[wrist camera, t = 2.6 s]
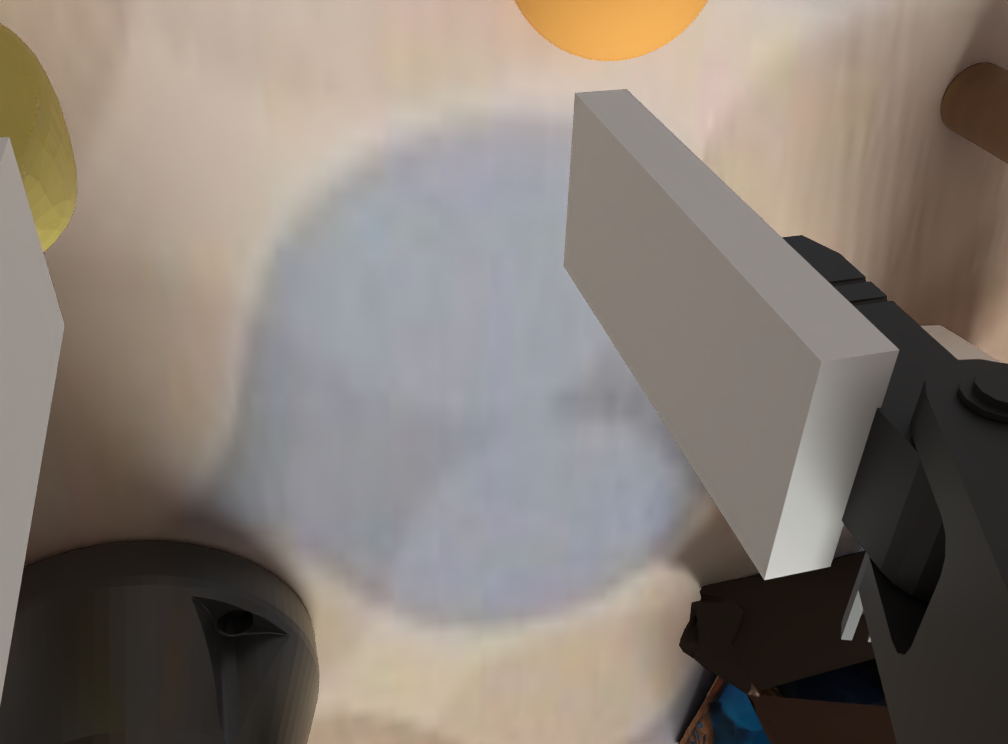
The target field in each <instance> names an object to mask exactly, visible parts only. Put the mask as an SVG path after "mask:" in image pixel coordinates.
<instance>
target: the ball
mask: <svg viewBox="0 0 1008 744" xmlns="http://www.w3.org/2000/svg"><path fill="white" fill-rule="evenodd" d="M707 1H708V0H515V3H516V4H517V6H518V8H519V9H520V11H521V12H522V14H523V15H524V17H525V18H526V20H527V21H528V22H529V23H530V25H531V26H532V27H533V28H534V29H535V30H536V31H537V32H538V33H539V34H540V35H541V36H543V37H544V38H545V39H546V40H548V41H549V42H550V43H552V44H553V45H555V46H556V47H558V48H560V49H562V50H564V51H566V52H568V53H570V54H573V55H576V56H580V57H583V58H586V59H591V60H598V61H619V60H626V59H632V58H635V57H639V56H642V55H645V54H647V53H650V52H652V51H654V50H656V49H658V48H660V47H662V46H663V45H665V44H667V43H669V42H670V41H671V40H673V39H674V38H676V37H677V36H678V35H679V34H681V33H682V32H683V31H684V30H685V29H686V28H687V27H688V26H689V25H690V24H691V23H692V22H693V20H694V19H695V18H696V17H697V16H698V14H699V13H700V12H701V10H702V9H703V7H704V6H705V4H706V3H707Z"/></svg>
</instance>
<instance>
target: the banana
mask: <svg viewBox="0 0 1008 744" xmlns="http://www.w3.org/2000/svg"><path fill="white" fill-rule="evenodd" d="M2 137H9V138H10V141H11V145H12V148H13V151H14V155H15V158H16V162H17V165H18V168H19V172H20V175H21V179H22V182H23V185H24V189H25V192H26V196H27V199H28V202H29V206H30V209H31V213H32V216H33V219H34V223H35V226H36V230H37V233H38V236H39V240H40V243H41V247H42V250H43V252H44V251H45V250H47V249H48V248H49V247H50V246H51V245H52V244H53V243H54V242H55V241H56V239H57V238H58V237H59V236H60V234H61V233H62V232H63V231H64V229H65V228H66V227H67V225H68V223H69V221H70V219H71V216H72V214H73V212H74V207H75V202H76V196H77V178H76V165H75V160H74V155H73V151H72V146H71V141H70V136H69V133H68V129H67V126H66V123H65V120H64V116H63V113H62V110H61V107H60V103H59V100H58V98H57V96H56V94H55V91H54V89H53V87H52V85H51V83H50V81H49V79H48V77H47V75H46V72H45V71H44V69H43V67H42V66H41V64H40V62H39V61H38V59H37V57H36V56H35V54H34V53H33V52H32V51H31V49H30V48H29V47H28V46H27V45H26V44H25V43H24V42H23V41H22V40H21V39H20V38H19V37H18V36H17V35H16V34H15V33H14V32H12V31H11V30H9V29H8V28H7V27H5V26H4V25H2V24H1V23H0V138H2Z"/></svg>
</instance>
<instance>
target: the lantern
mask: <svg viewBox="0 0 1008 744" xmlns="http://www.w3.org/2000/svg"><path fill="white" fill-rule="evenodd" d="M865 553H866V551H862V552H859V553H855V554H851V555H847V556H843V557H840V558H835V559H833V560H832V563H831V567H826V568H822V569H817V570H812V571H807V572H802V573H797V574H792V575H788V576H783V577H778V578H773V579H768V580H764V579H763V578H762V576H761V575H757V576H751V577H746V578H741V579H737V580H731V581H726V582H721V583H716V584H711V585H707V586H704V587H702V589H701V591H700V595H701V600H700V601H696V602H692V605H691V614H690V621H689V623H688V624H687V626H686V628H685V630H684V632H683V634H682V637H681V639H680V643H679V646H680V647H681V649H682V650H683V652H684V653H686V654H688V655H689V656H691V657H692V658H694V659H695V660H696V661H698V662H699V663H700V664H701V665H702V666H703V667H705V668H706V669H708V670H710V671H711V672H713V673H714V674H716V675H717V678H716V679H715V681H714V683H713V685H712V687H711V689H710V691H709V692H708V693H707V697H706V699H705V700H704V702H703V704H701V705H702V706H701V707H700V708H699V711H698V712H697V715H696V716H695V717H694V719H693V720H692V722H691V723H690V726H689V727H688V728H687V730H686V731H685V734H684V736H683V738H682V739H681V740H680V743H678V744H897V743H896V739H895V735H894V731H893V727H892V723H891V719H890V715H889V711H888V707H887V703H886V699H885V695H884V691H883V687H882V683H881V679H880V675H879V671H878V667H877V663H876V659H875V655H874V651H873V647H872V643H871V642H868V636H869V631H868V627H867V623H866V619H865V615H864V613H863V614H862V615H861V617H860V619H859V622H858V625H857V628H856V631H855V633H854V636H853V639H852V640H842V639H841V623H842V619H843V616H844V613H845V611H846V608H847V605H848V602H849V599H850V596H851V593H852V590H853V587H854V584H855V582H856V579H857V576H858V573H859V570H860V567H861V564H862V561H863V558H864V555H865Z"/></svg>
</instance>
